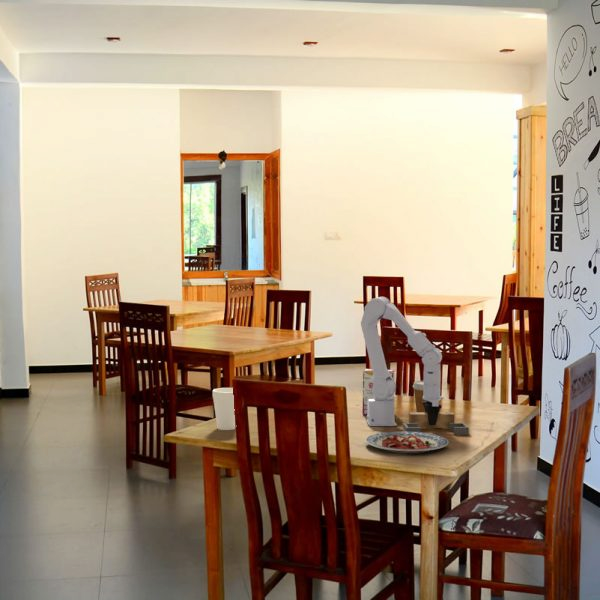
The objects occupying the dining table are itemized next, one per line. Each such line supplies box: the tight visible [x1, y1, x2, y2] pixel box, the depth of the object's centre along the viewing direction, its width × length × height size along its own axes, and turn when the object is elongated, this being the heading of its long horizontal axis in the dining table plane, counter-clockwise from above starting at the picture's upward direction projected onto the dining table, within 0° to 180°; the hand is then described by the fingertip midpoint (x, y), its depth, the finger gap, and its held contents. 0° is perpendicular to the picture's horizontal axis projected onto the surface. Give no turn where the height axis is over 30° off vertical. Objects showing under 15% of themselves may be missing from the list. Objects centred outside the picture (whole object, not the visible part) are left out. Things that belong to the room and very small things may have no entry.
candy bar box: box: [361, 368, 395, 416], centre depth 336 cm, size 11×5×16 cm, turn 80°
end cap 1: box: [402, 422, 422, 432], centre depth 306 cm, size 5×7×2 cm, turn 2°
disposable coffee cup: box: [412, 380, 426, 412], centre depth 335 cm, size 10×10×12 cm
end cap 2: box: [449, 422, 470, 436], centre depth 307 cm, size 5×7×2 cm, turn 2°
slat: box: [408, 411, 455, 430], centre depth 314 cm, size 15×4×5 cm, turn 92°
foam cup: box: [212, 387, 236, 431], centre depth 313 cm, size 10×9×13 cm
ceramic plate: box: [365, 430, 449, 454], centre depth 287 cm, size 26×26×3 cm
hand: (431, 423), depth 314 cm, fingers closed on slat, 3 cm apart
